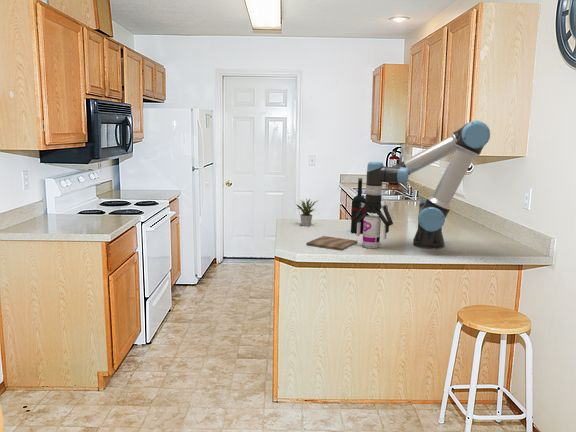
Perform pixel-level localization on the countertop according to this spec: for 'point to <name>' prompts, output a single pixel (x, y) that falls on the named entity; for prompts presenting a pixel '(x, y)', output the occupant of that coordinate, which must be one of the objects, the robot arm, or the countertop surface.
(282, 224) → the countertop surface
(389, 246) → the countertop surface
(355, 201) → the wine bottle
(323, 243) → the walnut board
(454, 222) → the countertop surface
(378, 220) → the supplement can
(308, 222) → the house plant
